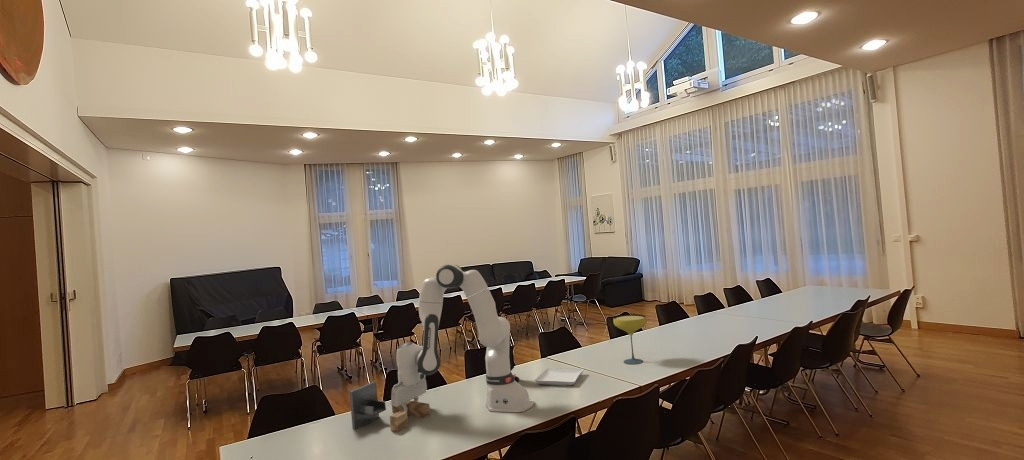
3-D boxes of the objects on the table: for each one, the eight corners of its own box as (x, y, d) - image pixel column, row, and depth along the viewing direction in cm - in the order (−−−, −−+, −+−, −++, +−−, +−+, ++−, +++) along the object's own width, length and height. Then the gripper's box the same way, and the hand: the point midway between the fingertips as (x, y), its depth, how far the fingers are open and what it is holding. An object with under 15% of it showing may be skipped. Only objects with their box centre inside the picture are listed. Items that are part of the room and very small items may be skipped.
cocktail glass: (654, 364, 260) (649, 318, 260) (620, 367, 260) (616, 321, 261) (645, 356, 278) (641, 313, 278) (614, 358, 278) (610, 315, 279)
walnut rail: (430, 414, 215) (429, 403, 215) (424, 418, 212) (423, 406, 212) (398, 409, 226) (397, 398, 226) (392, 412, 223) (391, 401, 223)
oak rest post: (407, 426, 204) (406, 411, 204) (397, 431, 199) (396, 417, 199) (400, 424, 206) (399, 410, 206) (390, 430, 201) (389, 416, 201)
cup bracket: (392, 418, 214) (389, 383, 214) (368, 431, 202) (365, 393, 202) (376, 416, 219) (373, 381, 219) (352, 428, 207) (349, 391, 207)
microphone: (500, 387, 245) (496, 338, 245) (489, 381, 257) (485, 334, 257) (523, 381, 251) (519, 333, 251) (512, 375, 263) (508, 330, 263)
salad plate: (534, 386, 242) (533, 379, 242) (547, 373, 262) (546, 367, 262) (575, 388, 234) (574, 381, 234) (585, 375, 254) (584, 368, 254)
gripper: (397, 386, 208) (399, 418, 208) (427, 372, 226) (430, 402, 226) (386, 385, 212) (389, 416, 212) (417, 372, 229) (420, 400, 229)
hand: (410, 409), depth 219 cm, fingers closed on walnut rail, 4 cm apart
